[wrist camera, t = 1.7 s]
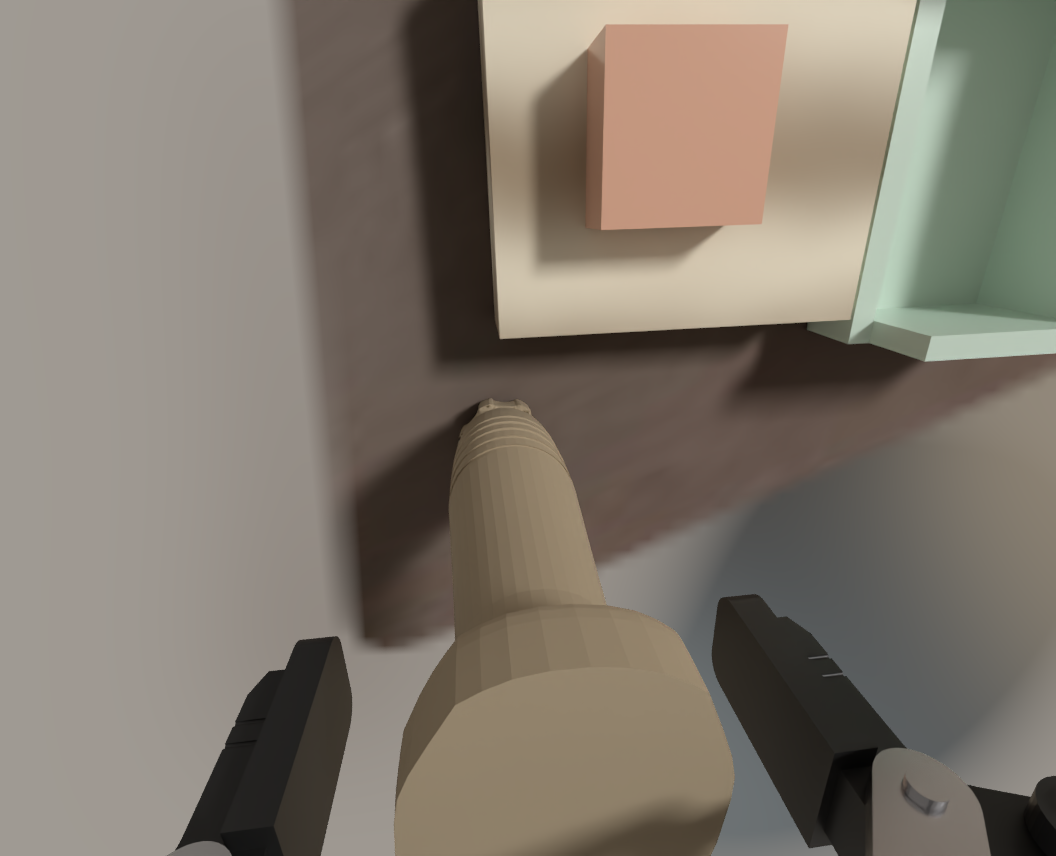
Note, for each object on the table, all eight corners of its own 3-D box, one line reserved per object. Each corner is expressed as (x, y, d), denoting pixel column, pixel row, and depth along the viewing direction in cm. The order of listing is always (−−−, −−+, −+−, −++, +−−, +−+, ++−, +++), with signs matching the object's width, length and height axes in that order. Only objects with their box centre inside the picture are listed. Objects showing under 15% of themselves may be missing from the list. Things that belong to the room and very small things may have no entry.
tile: (587, 48, 14) (605, 24, 12) (747, 47, 14) (788, 24, 13) (585, 227, 16) (601, 230, 14) (728, 222, 16) (762, 224, 14)
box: (873, -51, 16) (1031, -151, 12) (1087, -48, 17) (1316, -142, 13) (806, 329, 21) (901, 362, 16) (976, 319, 22) (1113, 349, 17)
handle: (440, 499, 22) (400, 971, 8) (441, 351, 20) (386, 674, 6) (552, 500, 23) (684, 939, 9) (566, 356, 20) (776, 659, 7)
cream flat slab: (474, -56, 15) (476, -114, 13) (858, -51, 16) (938, -104, 14) (495, 320, 20) (499, 338, 17) (798, 305, 21) (850, 319, 18)
